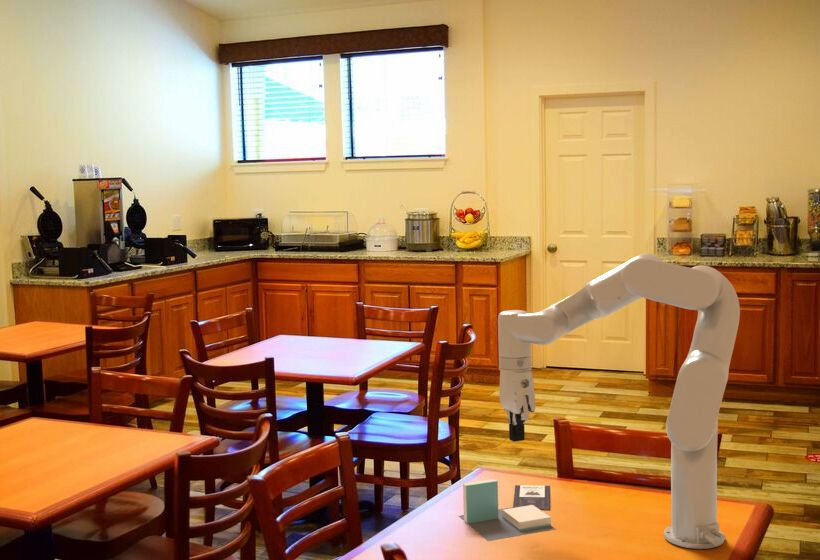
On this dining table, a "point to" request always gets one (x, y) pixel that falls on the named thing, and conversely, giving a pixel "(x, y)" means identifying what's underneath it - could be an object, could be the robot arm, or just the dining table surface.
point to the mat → (501, 528)
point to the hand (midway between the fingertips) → (517, 440)
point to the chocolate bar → (532, 496)
